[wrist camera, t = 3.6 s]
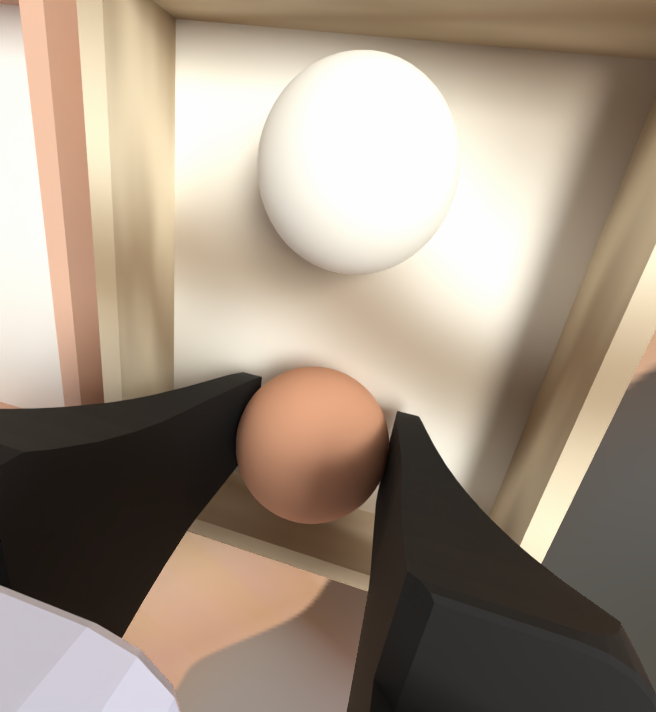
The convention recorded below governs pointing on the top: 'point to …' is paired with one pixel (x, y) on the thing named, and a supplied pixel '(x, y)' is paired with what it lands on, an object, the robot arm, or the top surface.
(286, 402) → the terracotta ball
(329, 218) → the cream ball
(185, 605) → the top surface
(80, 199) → the peach open box
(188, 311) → the box
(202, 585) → the top surface
